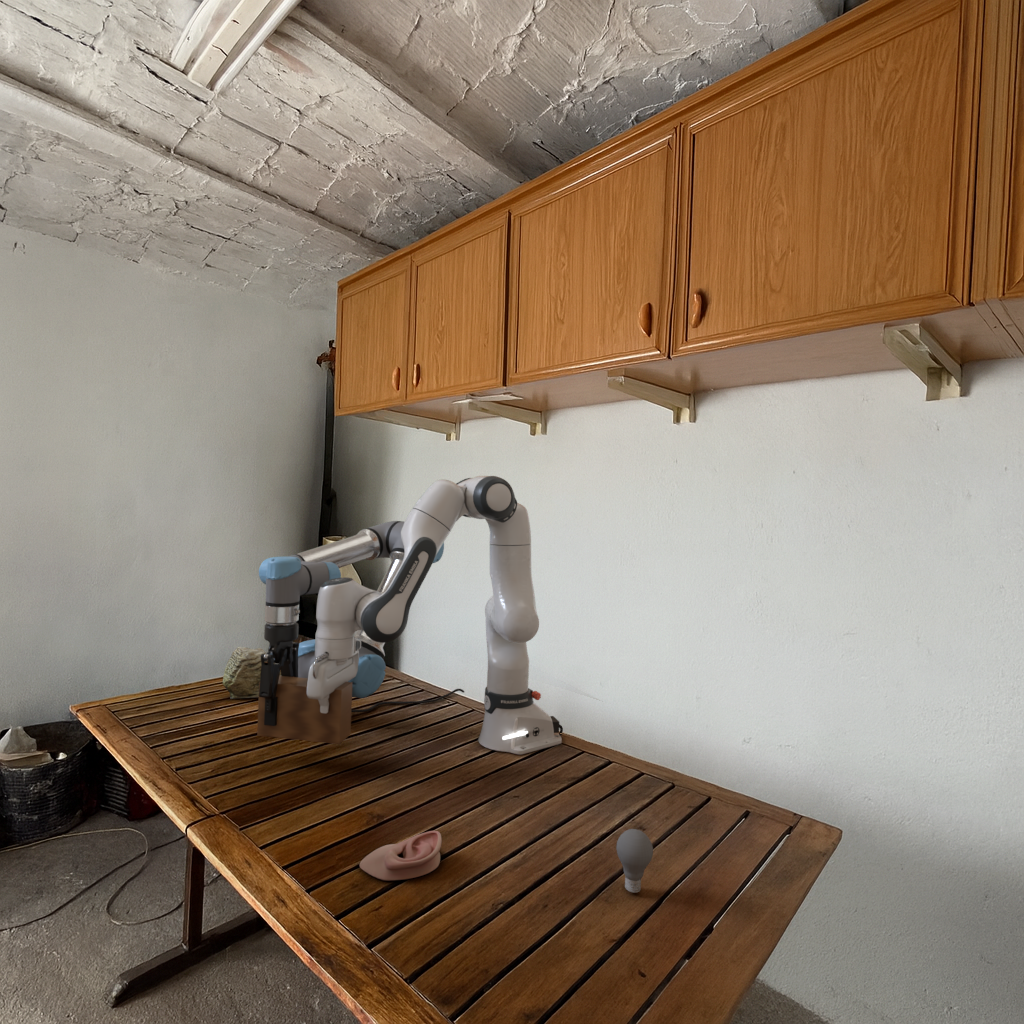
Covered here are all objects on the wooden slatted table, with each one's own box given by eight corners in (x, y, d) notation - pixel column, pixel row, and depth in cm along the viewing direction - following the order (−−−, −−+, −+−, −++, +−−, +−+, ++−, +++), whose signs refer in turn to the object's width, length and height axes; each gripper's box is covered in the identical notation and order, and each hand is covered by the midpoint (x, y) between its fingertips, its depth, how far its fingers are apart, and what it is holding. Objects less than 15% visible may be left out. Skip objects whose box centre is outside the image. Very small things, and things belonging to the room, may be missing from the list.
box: (257, 735, 147) (259, 682, 147) (271, 726, 153) (273, 674, 153) (339, 744, 144) (341, 689, 144) (350, 734, 150) (352, 682, 150)
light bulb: (610, 879, 108) (613, 822, 108) (644, 879, 109) (647, 822, 109) (619, 902, 102) (622, 840, 102) (655, 901, 103) (658, 840, 103)
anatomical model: (352, 851, 106) (379, 818, 118) (351, 875, 106) (379, 839, 118) (427, 864, 104) (448, 829, 115) (426, 888, 104) (447, 850, 115)
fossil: (218, 695, 195) (220, 647, 195) (278, 685, 208) (279, 640, 207) (228, 703, 189) (230, 653, 188) (289, 692, 201) (290, 645, 201)
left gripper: (275, 632, 139) (271, 736, 139) (315, 616, 158) (312, 708, 158) (243, 629, 140) (240, 732, 141) (287, 614, 159) (284, 705, 160)
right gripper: (327, 659, 136) (325, 723, 137) (364, 639, 157) (361, 695, 157) (300, 657, 137) (298, 720, 138) (340, 637, 158) (337, 693, 158)
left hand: (278, 719), depth 150 cm, fingers closed on box, 6 cm apart
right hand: (332, 706), depth 147 cm, fingers closed on box, 6 cm apart
